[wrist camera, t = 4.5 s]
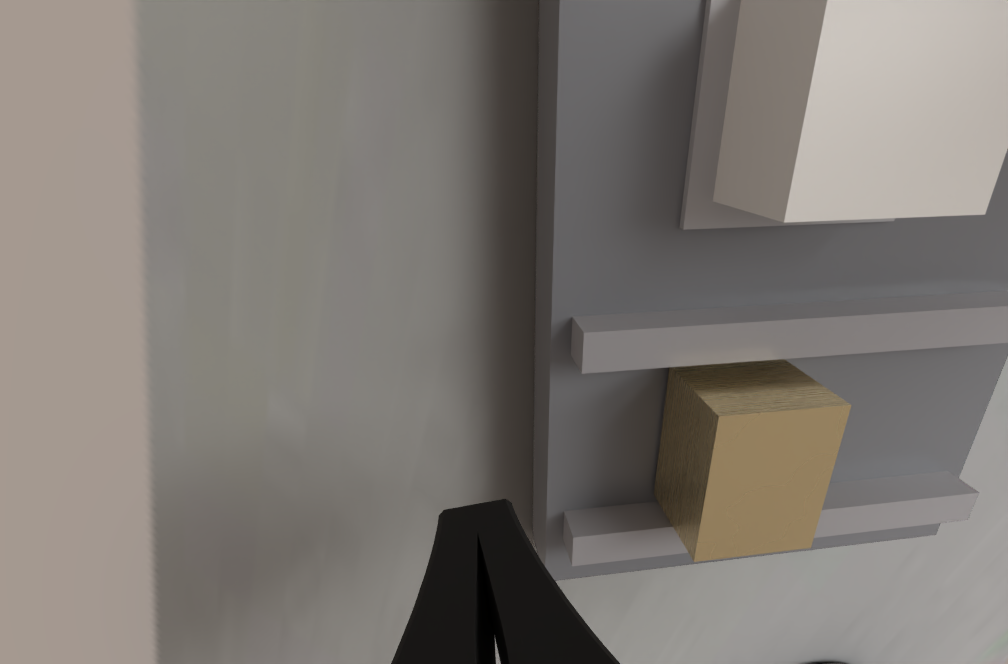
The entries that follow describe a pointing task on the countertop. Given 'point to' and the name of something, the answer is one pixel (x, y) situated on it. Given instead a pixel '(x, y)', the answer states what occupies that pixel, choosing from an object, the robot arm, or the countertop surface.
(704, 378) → the wood grain block
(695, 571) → the countertop surface
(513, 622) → the robot arm
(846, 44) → the off-white button
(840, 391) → the grey ridged tray
